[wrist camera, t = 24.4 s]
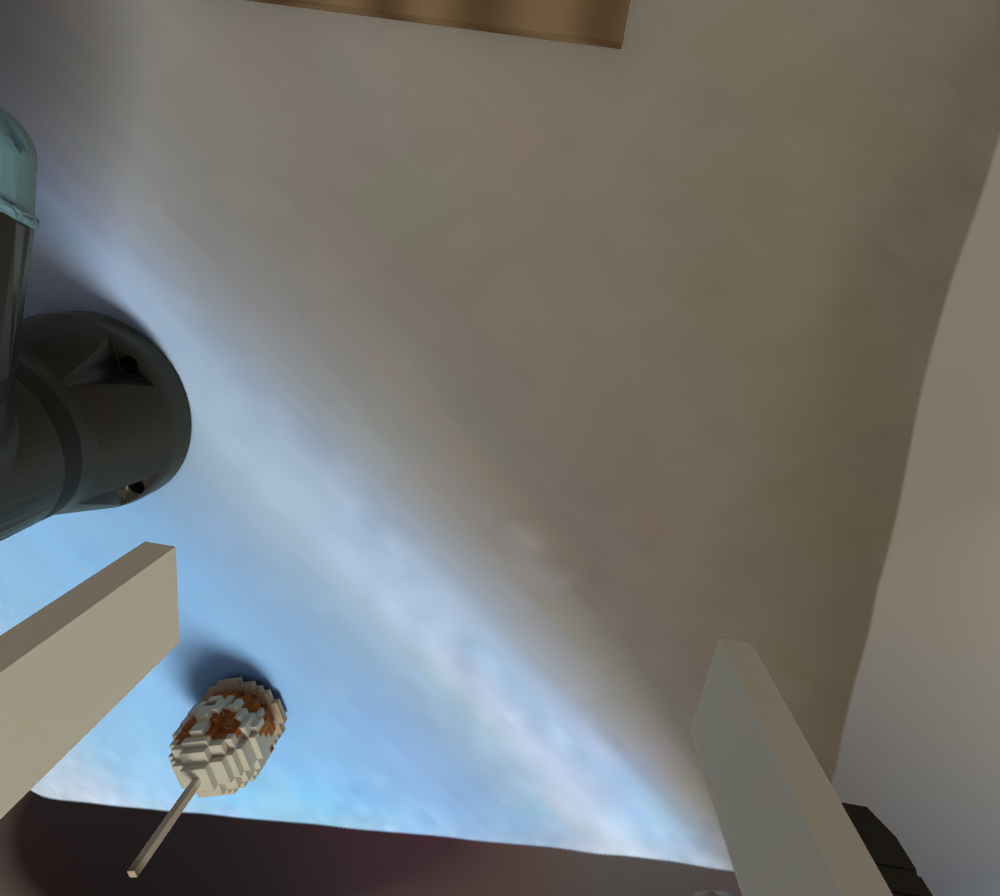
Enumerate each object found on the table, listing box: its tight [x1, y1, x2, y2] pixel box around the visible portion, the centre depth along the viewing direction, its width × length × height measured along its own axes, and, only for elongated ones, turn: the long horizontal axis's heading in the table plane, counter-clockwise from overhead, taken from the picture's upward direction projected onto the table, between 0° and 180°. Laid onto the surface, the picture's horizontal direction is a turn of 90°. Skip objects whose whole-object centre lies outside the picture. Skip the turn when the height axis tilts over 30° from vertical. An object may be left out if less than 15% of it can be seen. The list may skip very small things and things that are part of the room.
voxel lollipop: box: [127, 677, 287, 877], centre depth 44 cm, size 8×8×15 cm
